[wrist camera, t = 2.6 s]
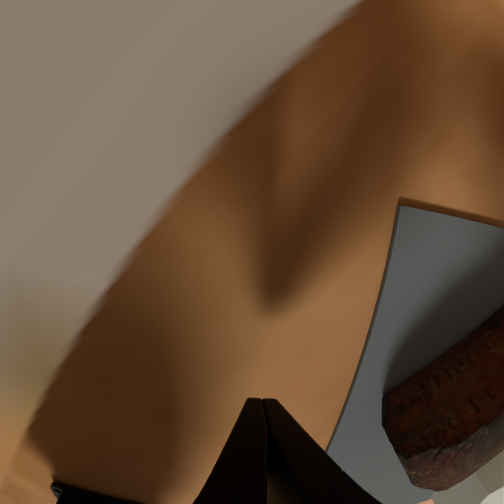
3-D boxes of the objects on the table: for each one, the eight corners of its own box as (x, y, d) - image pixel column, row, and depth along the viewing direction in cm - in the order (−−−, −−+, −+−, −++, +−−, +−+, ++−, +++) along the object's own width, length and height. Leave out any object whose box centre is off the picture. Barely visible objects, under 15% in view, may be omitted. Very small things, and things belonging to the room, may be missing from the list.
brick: (538, 263, 11) (605, 297, 6) (539, 321, 12) (593, 360, 7) (365, 396, 12) (409, 481, 7) (388, 439, 13) (423, 510, 8)
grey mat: (289, 524, 15) (289, 527, 15) (398, 204, 10) (401, 205, 10) (506, 464, 17) (508, 465, 17) (605, 259, 12) (607, 260, 11)
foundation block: (430, 496, 16) (449, 532, 12) (463, 455, 14) (489, 494, 10) (507, 463, 16) (526, 489, 13) (536, 424, 15) (559, 449, 11)
